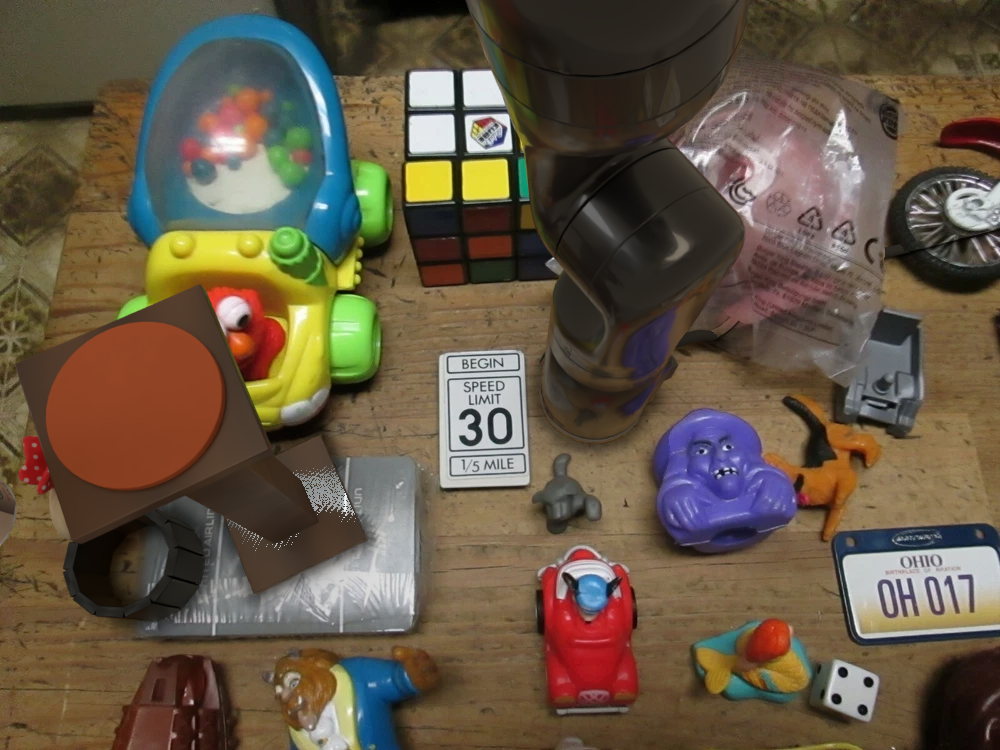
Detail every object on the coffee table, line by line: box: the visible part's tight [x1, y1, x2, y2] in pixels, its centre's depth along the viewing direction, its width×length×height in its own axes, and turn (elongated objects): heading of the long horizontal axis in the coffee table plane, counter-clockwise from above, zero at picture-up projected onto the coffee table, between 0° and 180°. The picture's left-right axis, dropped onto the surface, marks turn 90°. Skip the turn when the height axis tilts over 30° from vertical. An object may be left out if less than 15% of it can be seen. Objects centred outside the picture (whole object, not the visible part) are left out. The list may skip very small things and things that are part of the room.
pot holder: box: [46, 322, 225, 491], centre depth 41 cm, size 9×9×1 cm
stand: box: [14, 283, 369, 596], centre depth 56 cm, size 10×10×31 cm
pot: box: [62, 508, 206, 623], centre depth 66 cm, size 9×9×6 cm
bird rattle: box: [17, 435, 73, 542], centre depth 67 cm, size 6×11×9 cm
